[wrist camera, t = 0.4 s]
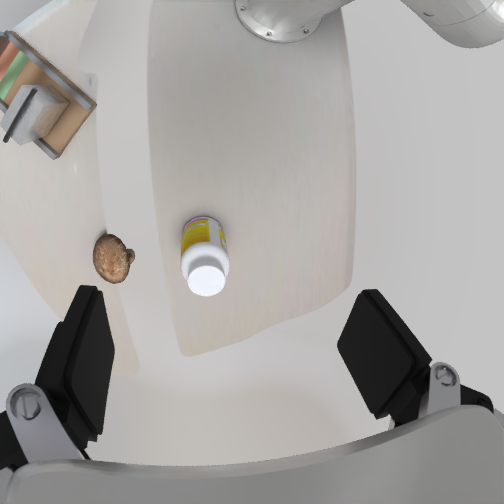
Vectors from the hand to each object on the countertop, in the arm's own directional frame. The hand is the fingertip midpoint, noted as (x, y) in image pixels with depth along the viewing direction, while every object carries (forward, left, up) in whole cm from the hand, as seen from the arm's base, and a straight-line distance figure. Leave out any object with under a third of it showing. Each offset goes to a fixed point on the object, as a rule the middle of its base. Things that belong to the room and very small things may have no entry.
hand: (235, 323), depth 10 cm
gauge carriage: (-2, -25, -33) cm, 42 cm away
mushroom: (+19, -11, -35) cm, 41 cm away
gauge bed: (-5, -30, -35) cm, 46 cm away
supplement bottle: (+13, +3, -35) cm, 37 cm away
